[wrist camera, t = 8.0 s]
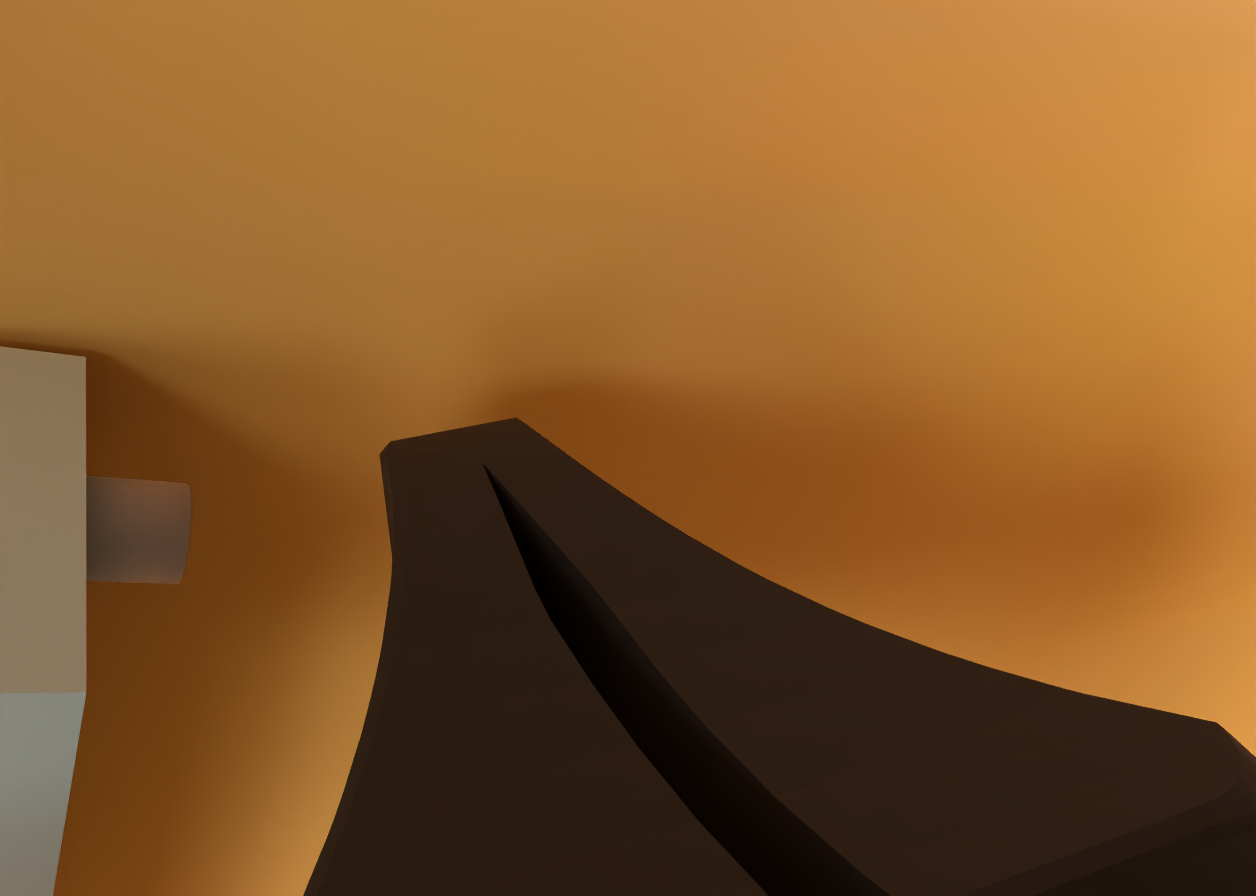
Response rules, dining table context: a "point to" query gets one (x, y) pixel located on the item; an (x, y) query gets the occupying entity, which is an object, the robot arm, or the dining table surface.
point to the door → (59, 592)
